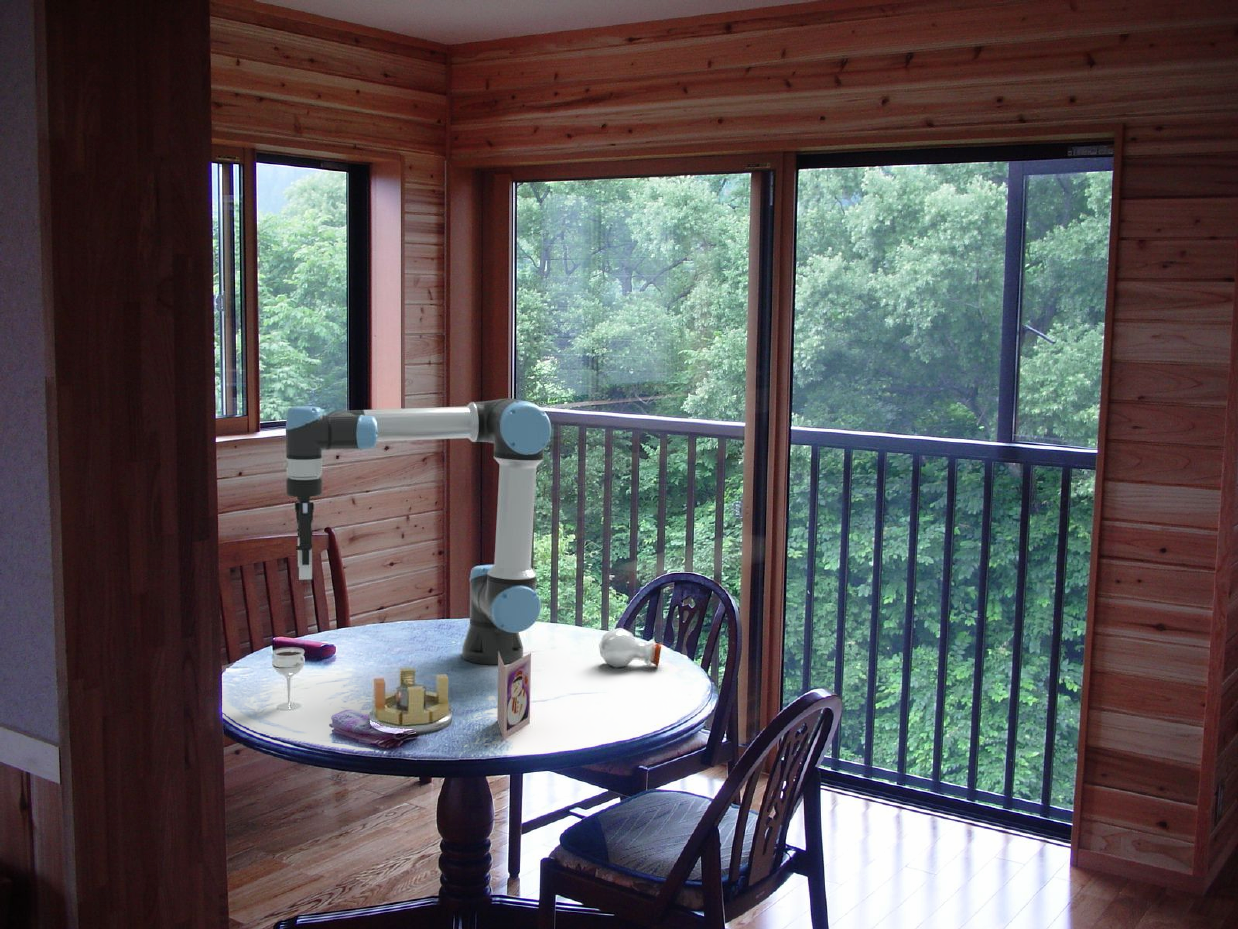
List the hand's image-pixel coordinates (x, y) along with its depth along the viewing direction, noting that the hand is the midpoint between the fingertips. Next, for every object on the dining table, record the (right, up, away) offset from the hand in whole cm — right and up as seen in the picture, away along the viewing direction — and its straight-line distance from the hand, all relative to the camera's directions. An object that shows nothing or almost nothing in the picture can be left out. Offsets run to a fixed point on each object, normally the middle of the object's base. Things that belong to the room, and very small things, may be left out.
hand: (304, 572), depth 264 cm
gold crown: (+26, -28, -15) cm, 41 cm away
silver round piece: (+26, -30, -15) cm, 42 cm away
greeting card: (+46, -31, -18) cm, 58 cm away
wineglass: (-1, -28, -8) cm, 29 cm away
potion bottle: (+72, -26, +29) cm, 82 cm away
